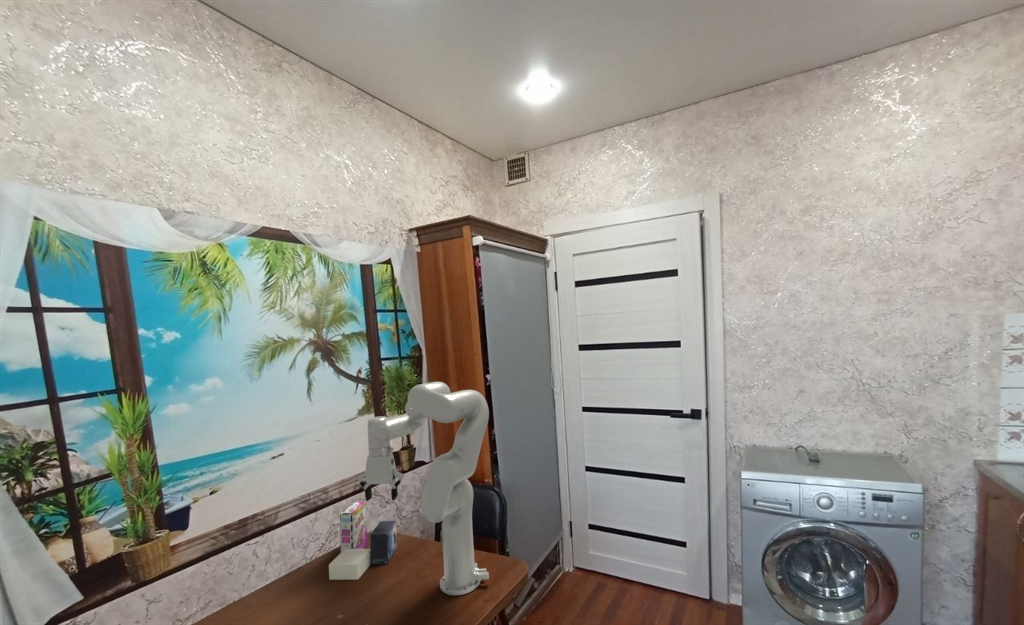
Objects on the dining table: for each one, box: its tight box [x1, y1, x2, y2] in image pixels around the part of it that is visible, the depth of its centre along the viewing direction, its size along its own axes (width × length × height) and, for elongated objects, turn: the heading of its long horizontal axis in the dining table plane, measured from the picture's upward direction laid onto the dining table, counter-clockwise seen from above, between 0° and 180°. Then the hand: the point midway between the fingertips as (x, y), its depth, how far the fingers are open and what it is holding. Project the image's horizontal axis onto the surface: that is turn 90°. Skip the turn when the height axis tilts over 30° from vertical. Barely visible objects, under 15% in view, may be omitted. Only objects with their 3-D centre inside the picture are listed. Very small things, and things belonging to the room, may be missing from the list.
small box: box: [369, 520, 398, 566], centre depth 143 cm, size 11×6×10 cm, turn 179°
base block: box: [328, 548, 372, 581], centre depth 135 cm, size 10×10×5 cm
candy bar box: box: [339, 501, 368, 553], centre depth 148 cm, size 11×5×16 cm, turn 174°
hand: (381, 499), depth 144 cm, fingers open, 9 cm apart
